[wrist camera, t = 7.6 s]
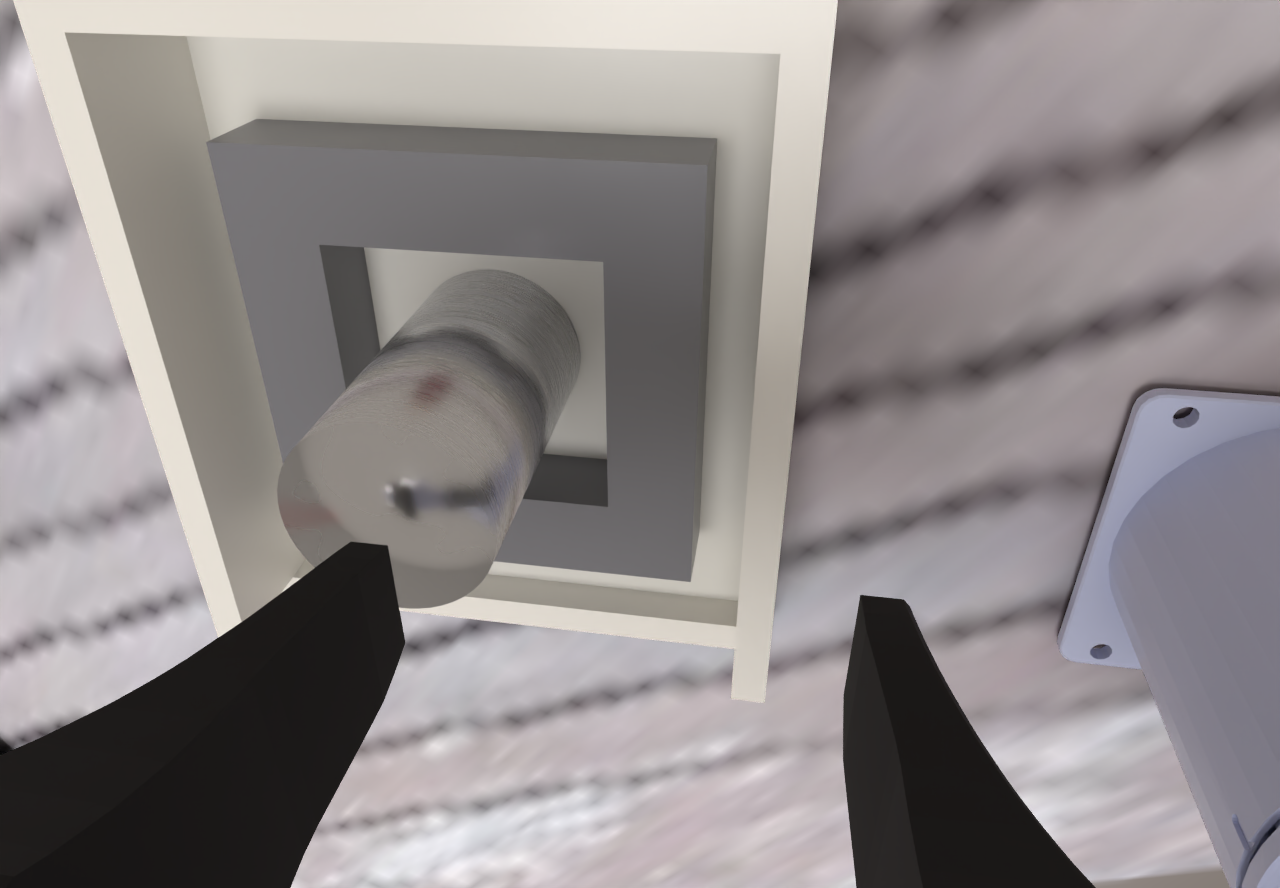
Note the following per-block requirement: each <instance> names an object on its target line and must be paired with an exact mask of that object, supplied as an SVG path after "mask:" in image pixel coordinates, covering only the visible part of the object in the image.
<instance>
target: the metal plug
mask: <svg viewBox="0 0 1280 888" xmlns="http://www.w3.org/2000/svg"><path fill="white" fill-rule="evenodd" d="M580 363H581V352H580V344H579V340H578V336H577V333H576V330H575V328H574V325H573V323H572V321H571V319H570V318H569V316H568V314H567V313H566V311H565V310H564V309H563V307H562V306H561V305H560V303H559V302H558V301H557V300H556V299H555V298H554V297H553V296H552V295H551V294H549V293H548V292H547V291H546V290H544V289H543V288H542V287H540V286H539V285H537V284H536V283H534V282H532V281H530V280H528V279H526V278H524V277H522V276H519V275H516V274H514V273H510V272H506V271H501V270H492V269H480V270H473V271H467V272H464V273H461V274H458V275H456V276H454V277H452V278H450V279H448V280H446V281H445V282H444V283H442V284H441V285H440V286H439V287H438V288H436V289H435V290H434V291H433V292H432V294H431V295H430V296H429V297H428V298H427V299H426V300H425V301H424V303H423V304H422V305H421V306H420V307H419V308H418V309H417V310H416V311H415V313H414V314H413V315H412V316H411V317H410V318H409V319H408V320H407V322H406V323H405V324H404V325H403V326H402V327H401V328H400V329H399V330H398V332H397V333H396V334H395V335H394V336H393V337H392V338H391V339H390V341H389V342H388V343H387V344H386V345H385V346H384V347H383V348H382V350H381V351H380V352H379V353H378V354H377V355H376V356H375V357H374V358H373V360H372V361H371V362H370V363H369V364H368V365H367V366H366V367H365V369H364V370H363V371H362V372H361V373H360V374H359V375H358V376H357V377H356V379H355V380H354V381H353V382H352V383H351V384H350V385H349V386H348V388H347V389H346V390H345V391H344V392H343V393H342V394H341V395H340V397H339V398H338V399H337V400H336V401H335V402H334V403H333V404H332V405H331V407H330V408H329V409H328V410H327V411H326V412H325V413H324V414H323V416H322V417H321V418H320V419H319V420H318V421H317V422H316V423H315V424H314V426H313V427H312V428H311V429H310V430H309V431H308V432H307V433H306V435H305V436H304V437H303V438H302V439H301V440H300V441H299V442H298V444H297V445H296V446H295V447H294V448H293V449H292V451H291V452H290V453H289V455H288V456H287V457H286V459H285V461H284V463H283V465H282V467H281V471H280V474H279V478H278V486H277V498H278V506H279V511H280V515H281V518H282V520H283V523H284V526H285V528H286V530H287V532H288V534H289V536H290V538H291V539H292V541H293V542H294V544H295V545H296V547H297V548H298V550H299V551H300V552H301V553H302V555H303V556H304V557H305V558H306V559H307V560H308V561H309V562H310V563H311V564H312V565H313V566H314V567H317V566H318V565H319V564H321V563H322V562H323V561H325V560H326V559H327V558H329V557H330V556H331V555H333V554H334V553H335V552H337V551H338V550H339V549H341V548H342V547H344V546H345V545H347V544H348V543H349V542H360V543H370V544H379V545H388V549H389V555H390V560H391V566H392V571H393V577H394V583H395V588H396V594H397V599H398V605H399V608H411V609H421V608H432V607H437V606H442V605H445V604H448V603H451V602H454V601H456V600H458V599H460V598H462V597H464V596H466V595H467V594H469V593H470V592H472V591H473V590H474V589H475V588H476V587H477V586H478V585H479V584H480V583H481V582H482V581H483V580H484V578H485V577H486V575H487V574H488V572H489V570H490V568H491V566H492V564H493V562H494V560H495V558H496V555H497V553H498V551H499V549H500V547H501V544H502V542H503V540H504V538H505V536H506V534H507V531H508V529H509V527H510V525H511V523H512V520H513V518H514V516H515V514H516V512H517V510H518V507H519V505H520V503H521V501H522V499H523V496H524V494H525V492H526V490H527V488H528V486H529V483H530V481H531V479H532V477H533V475H534V472H535V470H536V468H537V466H538V464H539V462H540V459H541V457H542V455H543V453H544V451H545V448H546V446H547V444H548V442H549V440H550V437H551V435H552V433H553V431H554V429H555V427H556V424H557V422H558V420H559V418H560V416H561V413H562V411H563V409H564V407H565V405H566V403H567V400H568V398H569V396H570V394H571V392H572V389H573V387H574V385H575V383H576V381H577V377H578V374H579V370H580Z"/></svg>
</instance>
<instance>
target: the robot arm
mask: <svg viewBox="0 0 1280 888" xmlns="http://www.w3.org/2000/svg"><path fill="white" fill-rule="evenodd" d="M1185 407H1192V408H1193V410H1192V412H1191V413H1190V415H1188V416H1186V417H1185V418H1181V419H1175V418H1173V416H1174V414H1175V413H1176V412H1177V411H1178V410H1180V409H1182V408H1185ZM1057 644H1058V647H1059V650H1060V653H1061V654H1062V656H1063V657H1064V658H1065V659H1067V660H1069V661H1073V662H1078V663H1087V664H1096V665H1105V666H1114V667H1123V668H1132V669H1141V670H1142V671H1143V673H1144V675H1145V678H1146V680H1147V683H1148V685H1149V688H1150V690H1151V693H1152V695H1153V698H1154V700H1155V703H1156V705H1157V708H1158V710H1159V713H1160V715H1161V718H1162V720H1163V723H1164V725H1165V728H1166V730H1167V732H1168V735H1169V737H1170V740H1171V742H1172V745H1173V747H1174V750H1175V752H1176V755H1177V757H1178V760H1179V762H1180V765H1181V767H1182V770H1183V772H1184V775H1185V777H1186V780H1187V782H1188V784H1189V787H1190V789H1191V792H1192V794H1193V797H1194V799H1195V802H1196V804H1197V807H1198V809H1199V812H1200V814H1201V817H1202V819H1203V822H1204V824H1205V827H1206V829H1207V832H1208V834H1209V837H1210V839H1211V841H1212V844H1213V846H1214V849H1215V851H1216V854H1217V856H1218V859H1219V861H1220V864H1221V866H1222V869H1223V871H1224V874H1225V876H1226V879H1227V881H1228V884H1229V886H1230V888H1280V397H1279V396H1266V395H1252V394H1238V393H1225V392H1211V391H1197V390H1184V389H1170V388H1158V389H1152V390H1150V391H1147V392H1145V393H1144V394H1142V395H1141V396H1140V397H1139V398H1138V399H1137V400H1136V402H1135V404H1134V405H1133V408H1132V411H1131V414H1130V417H1129V420H1128V423H1127V426H1126V429H1125V432H1124V435H1123V438H1122V442H1121V445H1120V448H1119V451H1118V454H1117V457H1116V460H1115V463H1114V466H1113V469H1112V472H1111V475H1110V478H1109V481H1108V485H1107V488H1106V491H1105V494H1104V497H1103V500H1102V503H1101V506H1100V509H1099V512H1098V515H1097V518H1096V521H1095V525H1094V528H1093V531H1092V534H1091V537H1090V540H1089V543H1088V546H1087V549H1086V552H1085V555H1084V558H1083V561H1082V564H1081V568H1080V571H1079V574H1078V577H1077V580H1076V583H1075V586H1074V589H1073V592H1072V595H1071V598H1070V601H1069V604H1068V608H1067V611H1066V614H1065V617H1064V620H1063V623H1062V626H1061V629H1060V632H1059V635H1058V640H1057ZM1099 644H1105V646H1104V647H1102V648H1095V649H1094V648H1093V647H1094V646H1096V645H1099ZM404 645H405V639H404V633H403V627H402V622H401V616H400V611H399V605H398V599H397V594H396V588H395V583H394V577H393V571H392V566H391V560H390V555H389V549H388V545H379V544H370V543H360V542H349V543H348V544H347V545H345V546H344V547H342V548H341V549H339V550H338V551H337V552H335V553H334V554H333V555H331V556H330V557H329V558H327V559H326V560H325V561H323V562H322V563H321V564H319V565H318V566H317V567H315V568H314V569H313V570H311V571H310V572H309V573H307V574H306V575H305V576H303V577H302V578H301V579H299V580H298V581H297V582H295V583H294V584H293V585H291V586H290V587H289V588H287V589H286V590H285V591H283V592H282V593H281V594H279V595H278V596H277V597H275V598H274V599H273V600H271V601H270V602H268V603H267V604H266V605H264V606H263V607H262V608H260V609H259V610H258V611H256V612H255V613H253V614H252V615H251V616H249V617H248V618H247V619H245V620H244V621H242V622H241V623H240V624H238V625H237V626H235V627H234V628H232V629H231V630H229V631H228V632H226V633H225V634H223V635H222V636H220V637H219V638H217V639H216V640H214V641H213V642H211V643H210V644H208V645H207V646H205V647H204V648H202V649H201V650H199V651H198V652H196V653H195V654H193V655H192V656H190V657H189V658H187V659H186V660H184V661H183V662H181V663H180V664H178V665H176V666H175V667H173V668H172V669H170V670H168V671H167V672H165V673H163V674H162V675H160V676H158V677H157V678H155V679H153V680H151V681H150V682H148V683H146V684H144V685H143V686H141V687H139V688H137V689H136V690H134V691H132V692H130V693H128V694H127V695H125V696H123V697H121V698H120V699H118V700H116V701H114V702H112V703H110V704H108V705H106V706H104V707H102V708H100V709H98V710H96V711H94V712H92V713H90V714H88V715H86V716H84V717H82V718H80V719H78V720H76V721H74V722H72V723H70V724H68V725H66V726H64V727H62V728H60V729H58V730H56V731H54V732H52V733H50V734H48V735H46V736H43V737H41V738H39V739H37V740H35V741H32V742H30V743H28V744H26V745H23V746H21V747H19V748H16V749H14V750H12V751H9V752H7V753H5V754H3V755H0V888H290V887H291V885H292V882H293V880H294V877H295V875H296V872H297V870H298V868H299V865H300V863H301V860H302V858H303V855H304V853H305V851H306V849H307V847H308V845H309V843H310V841H311V839H312V837H313V834H314V832H315V830H316V828H317V826H318V824H319V822H320V820H321V819H322V817H323V815H324V813H325V811H326V809H327V807H328V806H329V804H330V802H331V800H332V798H333V796H334V794H335V792H336V791H337V789H338V787H339V785H340V783H341V781H342V779H343V777H344V776H345V774H346V772H347V770H348V768H349V766H350V764H351V763H352V761H353V759H354V757H355V755H356V753H357V751H358V749H359V748H360V746H361V744H362V742H363V740H364V738H365V736H366V734H367V732H368V730H369V729H370V727H371V725H372V723H373V721H374V719H375V717H376V715H377V713H378V711H379V709H380V707H381V705H382V703H383V701H384V699H385V696H386V694H387V691H388V689H389V686H390V684H391V681H392V678H393V676H394V673H395V670H396V667H397V665H398V662H399V659H400V656H401V653H402V650H403V648H404ZM843 763H844V773H845V783H846V792H847V802H848V812H849V821H850V830H851V840H852V849H853V858H854V868H855V877H856V886H857V888H1095V886H1094V885H1093V884H1092V883H1091V882H1090V881H1089V880H1088V879H1087V878H1086V877H1085V876H1084V875H1083V874H1082V872H1081V871H1080V870H1079V869H1078V868H1077V867H1076V866H1075V865H1074V864H1073V863H1072V861H1071V860H1070V859H1069V858H1068V857H1067V856H1066V854H1065V853H1064V852H1063V851H1062V850H1061V848H1060V847H1059V846H1058V845H1057V844H1056V842H1055V841H1054V840H1053V839H1052V838H1051V836H1050V835H1049V834H1048V833H1047V832H1046V830H1045V829H1044V828H1043V827H1042V825H1041V824H1040V823H1039V821H1038V820H1037V819H1036V818H1035V816H1034V815H1033V814H1032V812H1031V811H1030V810H1029V809H1028V807H1027V806H1026V805H1025V803H1024V802H1023V801H1022V800H1021V798H1020V797H1019V795H1018V794H1017V793H1016V791H1015V790H1014V789H1013V787H1012V786H1011V784H1010V783H1009V782H1008V780H1007V779H1006V777H1005V776H1004V775H1003V773H1002V772H1001V770H1000V769H999V767H998V766H997V764H996V763H995V761H994V760H993V758H992V757H991V755H990V754H989V752H988V751H987V749H986V748H985V746H984V745H983V743H982V742H981V740H980V739H979V737H978V735H977V734H976V732H975V731H974V729H973V727H972V726H971V724H970V723H969V721H968V719H967V718H966V716H965V714H964V712H963V711H962V709H961V707H960V705H959V704H958V702H957V700H956V699H955V697H954V695H953V693H952V692H951V690H950V688H949V687H948V685H947V683H946V681H945V679H944V677H943V676H942V674H941V672H940V670H939V668H938V666H937V664H936V662H935V660H934V658H933V656H932V654H931V652H930V650H929V648H928V646H927V644H926V642H925V640H924V638H923V636H922V634H921V631H920V629H919V627H918V625H917V622H916V620H915V618H914V615H913V613H912V610H911V608H910V606H909V605H908V604H907V603H906V602H905V601H904V600H902V599H893V598H883V597H874V596H864V595H860V601H859V607H858V613H857V619H856V625H855V631H854V637H853V643H852V649H851V655H850V661H849V667H848V673H847V679H846V685H845V691H844V716H843Z"/></svg>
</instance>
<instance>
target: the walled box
mask: <svg viewBox="0 0 1280 888" xmlns="http://www.w3.org/2000/svg"><path fill="white" fill-rule="evenodd" d="M13 1H14V4H15V7H16V10H17V13H18V17H19V20H20V23H21V26H22V29H23V32H24V35H25V38H26V41H27V45H28V48H29V51H30V54H31V57H32V60H33V63H34V66H35V69H36V73H37V76H38V79H39V82H40V85H41V88H42V91H43V94H44V97H45V100H46V104H47V107H48V110H49V113H50V116H51V119H52V122H53V125H54V128H55V132H56V135H57V138H58V141H59V144H60V147H61V150H62V153H63V156H64V159H65V163H66V166H67V169H68V172H69V175H70V178H71V181H72V184H73V187H74V191H75V194H76V197H77V200H78V203H79V206H80V209H81V212H82V215H83V219H84V222H85V225H86V228H87V231H88V234H89V237H90V240H91V243H92V246H93V250H94V253H95V256H96V259H97V262H98V265H99V268H100V271H101V274H102V278H103V281H104V284H105V287H106V290H107V293H108V296H109V299H110V302H111V305H112V309H113V312H114V315H115V318H116V321H117V324H118V327H119V330H120V333H121V337H122V340H123V343H124V346H125V349H126V352H127V355H128V358H129V361H130V364H131V368H132V371H133V374H134V377H135V380H136V383H137V386H138V389H139V392H140V396H141V399H142V402H143V405H144V408H145V411H146V414H147V417H148V420H149V424H150V427H151V430H152V433H153V436H154V439H155V442H156V445H157V448H158V451H159V455H160V458H161V461H162V464H163V467H164V470H165V473H166V476H167V479H168V483H169V486H170V489H171V492H172V495H173V498H174V501H175V504H176V507H177V510H178V514H179V517H180V520H181V523H182V526H183V529H184V532H185V535H186V538H187V542H188V545H189V548H190V551H191V554H192V557H193V560H194V563H195V566H196V570H197V573H198V576H199V579H200V582H201V585H202V588H203V591H204V594H205V597H206V601H207V604H208V607H209V610H210V613H211V616H212V619H213V622H214V625H215V629H216V632H217V635H218V637H220V636H222V635H223V634H225V633H226V632H228V631H229V630H231V629H232V628H234V627H235V626H237V625H238V624H240V623H241V622H242V621H244V620H245V619H247V618H248V617H249V616H251V615H252V614H253V613H255V612H256V611H258V610H259V609H260V608H262V607H263V606H264V605H266V604H267V603H268V602H270V601H271V600H273V599H274V598H275V597H277V596H278V595H279V594H281V593H282V592H283V591H285V590H286V589H287V588H289V587H290V586H291V585H293V584H294V583H295V582H297V581H298V580H299V579H301V578H302V577H303V576H305V575H306V574H307V573H309V572H310V571H311V570H313V569H314V568H315V567H314V566H313V565H312V564H311V563H310V562H309V561H308V560H307V559H306V558H305V557H304V556H303V555H302V553H301V552H300V551H299V550H298V548H297V547H296V545H295V544H294V542H293V541H292V539H291V538H290V536H289V534H288V532H287V530H286V528H285V526H284V523H283V520H282V518H281V515H280V511H279V506H278V498H277V486H278V478H279V474H280V471H281V467H282V465H283V463H284V461H285V459H286V457H287V456H288V455H289V453H290V452H291V451H292V449H293V448H294V447H295V446H296V445H297V444H298V442H299V441H300V440H301V439H302V438H303V437H304V436H305V435H306V433H307V432H308V431H309V430H310V429H311V428H312V427H313V426H314V424H315V423H316V422H317V421H318V420H319V419H320V418H321V417H322V416H323V414H324V413H325V412H326V411H327V410H328V409H329V408H330V407H331V405H332V404H333V403H334V402H335V401H336V400H337V399H338V398H339V397H340V395H341V394H342V393H343V392H344V391H345V390H346V389H347V388H348V386H349V385H350V384H351V383H352V382H353V381H354V380H355V379H356V377H357V376H358V375H359V374H360V373H361V372H362V371H363V370H364V369H365V367H366V366H367V365H368V364H369V363H370V362H371V361H372V360H373V358H374V357H375V356H376V355H377V354H378V353H379V352H380V351H381V350H382V348H383V347H384V346H385V345H386V344H387V343H388V342H389V341H390V339H391V338H392V337H393V336H394V335H395V334H396V333H397V332H398V330H399V329H400V328H401V327H402V326H403V325H404V324H405V323H406V322H407V320H408V319H409V318H410V317H411V316H412V315H413V314H414V313H415V311H416V310H417V309H418V308H419V307H420V306H421V305H422V304H423V303H424V301H425V300H426V299H427V298H428V297H429V296H430V295H431V294H432V292H433V291H434V290H435V289H436V288H438V287H439V286H440V285H441V284H442V283H444V282H445V281H446V280H448V279H450V278H452V277H454V276H456V275H458V274H461V273H464V272H467V271H473V270H480V269H492V270H501V271H506V272H510V273H514V274H516V275H519V276H522V277H524V278H526V279H528V280H530V281H532V282H534V283H536V284H537V285H539V286H540V287H542V288H543V289H544V290H546V291H547V292H548V293H549V294H551V295H552V296H553V297H554V298H555V299H556V300H557V301H558V302H559V303H560V305H561V306H562V307H563V309H564V310H565V311H566V313H567V314H568V316H569V318H570V319H571V321H572V323H573V325H574V328H575V330H576V333H577V336H578V340H579V344H580V352H581V363H580V370H579V374H578V377H577V381H576V383H575V385H574V387H573V389H572V392H571V394H570V396H569V398H568V400H567V403H566V405H565V407H564V409H563V411H562V413H561V416H560V418H559V420H558V422H557V424H556V427H555V429H554V431H553V433H552V435H551V437H550V440H549V442H548V444H547V446H546V448H545V451H544V453H543V455H542V457H541V459H540V462H539V464H538V466H537V468H536V470H535V472H534V475H533V477H532V479H531V481H530V483H529V486H528V488H527V490H526V492H525V494H524V496H523V499H522V501H521V503H520V505H519V507H518V510H517V512H516V514H515V516H514V518H513V520H512V523H511V525H510V527H509V529H508V531H507V534H506V536H505V538H504V540H503V542H502V544H501V547H500V549H499V551H498V553H497V555H496V558H495V560H494V562H493V564H492V566H491V568H490V570H489V572H488V574H487V575H486V577H485V578H484V580H483V581H482V582H481V583H480V584H479V585H478V586H477V587H476V588H475V589H474V590H473V591H472V592H470V593H469V594H467V595H466V596H464V597H462V598H460V599H458V600H456V601H454V602H451V603H448V604H445V605H442V606H437V607H432V608H421V609H411V608H399V611H407V612H415V613H424V614H433V615H441V616H450V617H459V618H468V619H476V620H485V621H494V622H503V623H511V624H520V625H529V626H537V627H546V628H555V629H564V630H572V631H581V632H590V633H598V634H607V635H616V636H625V637H633V638H642V639H651V640H659V641H668V642H677V643H686V644H694V645H703V646H712V647H720V648H729V649H735V651H734V664H733V677H732V690H731V699H735V700H744V701H752V702H760V703H765V694H766V684H767V674H768V665H769V655H770V646H771V636H772V627H773V617H774V607H775V598H776V588H777V579H778V569H779V560H780V550H781V540H782V531H783V521H784V512H785V502H786V493H787V483H788V473H789V464H790V454H791V445H792V435H793V426H794V416H795V406H796V397H797V387H798V378H799V368H800V359H801V349H802V339H803V330H804V320H805V311H806V301H807V292H808V282H809V272H810V263H811V253H812V244H813V234H814V225H815V215H816V205H817V196H818V186H819V177H820V167H821V158H822V148H823V139H824V129H825V119H826V110H827V100H828V91H829V81H830V72H831V62H832V52H833V43H834V33H835V24H836V14H837V5H838V0H13Z"/></svg>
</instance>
